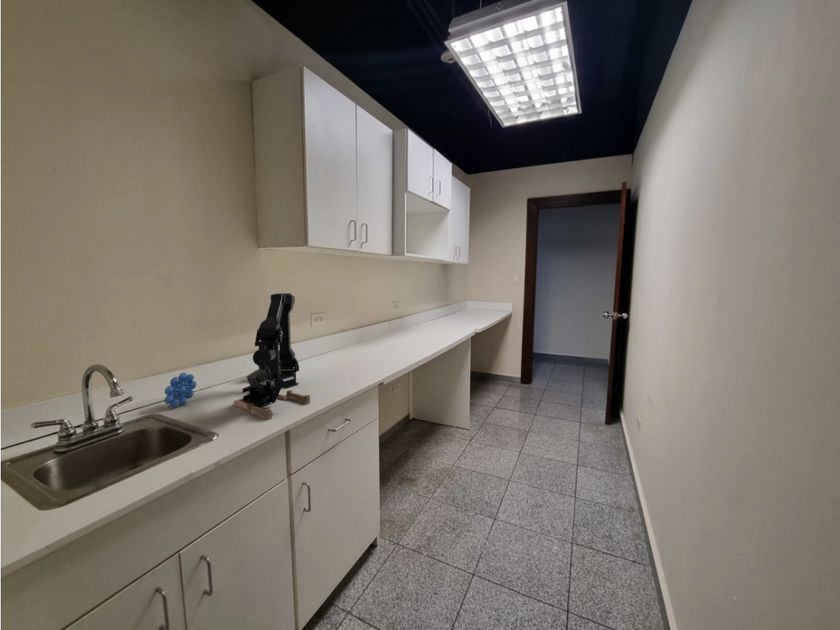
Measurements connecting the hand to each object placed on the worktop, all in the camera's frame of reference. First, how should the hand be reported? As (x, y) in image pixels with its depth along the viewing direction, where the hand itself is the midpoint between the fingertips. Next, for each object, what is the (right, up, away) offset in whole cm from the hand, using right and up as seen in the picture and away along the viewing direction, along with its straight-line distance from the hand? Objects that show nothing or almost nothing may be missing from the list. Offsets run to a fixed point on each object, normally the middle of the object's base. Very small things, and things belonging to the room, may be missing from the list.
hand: (273, 402), depth 125 cm
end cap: (-7, -1, +4) cm, 8 cm away
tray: (-7, -1, +5) cm, 8 cm away
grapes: (-35, -2, +2) cm, 35 cm away
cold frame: (+3, -2, -1) cm, 3 cm away
